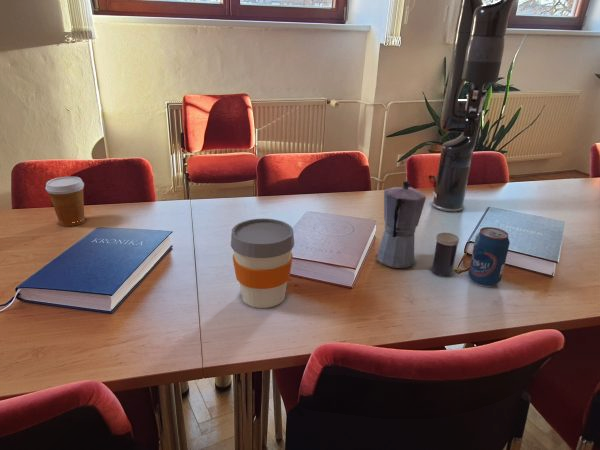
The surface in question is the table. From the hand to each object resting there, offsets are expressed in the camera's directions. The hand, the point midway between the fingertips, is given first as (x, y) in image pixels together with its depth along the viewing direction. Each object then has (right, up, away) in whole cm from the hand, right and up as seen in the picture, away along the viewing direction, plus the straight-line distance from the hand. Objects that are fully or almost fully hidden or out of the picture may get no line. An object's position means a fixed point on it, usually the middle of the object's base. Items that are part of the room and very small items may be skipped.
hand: (469, 133), depth 103 cm
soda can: (+2, -34, -3) cm, 34 cm away
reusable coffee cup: (-47, -36, -10) cm, 61 cm away
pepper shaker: (-6, -32, 0) cm, 33 cm away
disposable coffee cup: (-104, -21, +22) cm, 108 cm away
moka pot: (-16, -31, +4) cm, 35 cm away
